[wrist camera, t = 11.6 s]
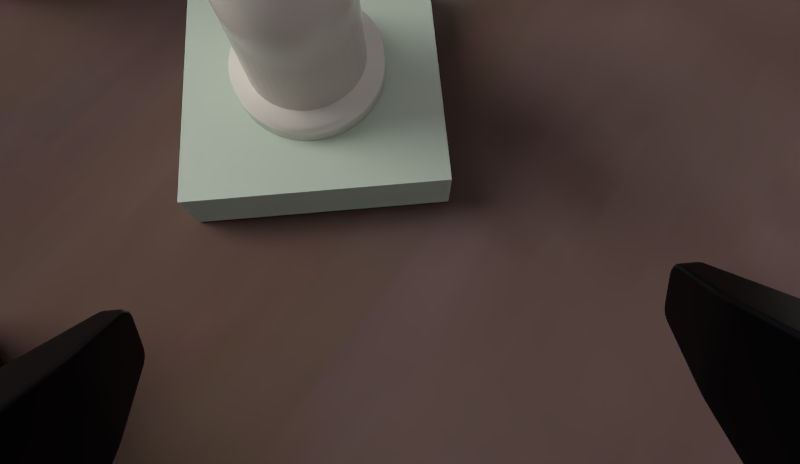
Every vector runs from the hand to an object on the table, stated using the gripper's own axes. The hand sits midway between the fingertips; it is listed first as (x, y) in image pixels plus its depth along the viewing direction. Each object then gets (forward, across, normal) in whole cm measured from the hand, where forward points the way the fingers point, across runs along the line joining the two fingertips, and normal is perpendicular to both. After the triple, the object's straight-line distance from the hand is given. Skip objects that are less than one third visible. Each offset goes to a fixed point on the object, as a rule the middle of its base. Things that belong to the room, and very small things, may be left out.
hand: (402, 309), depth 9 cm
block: (+18, +3, +1) cm, 19 cm away
